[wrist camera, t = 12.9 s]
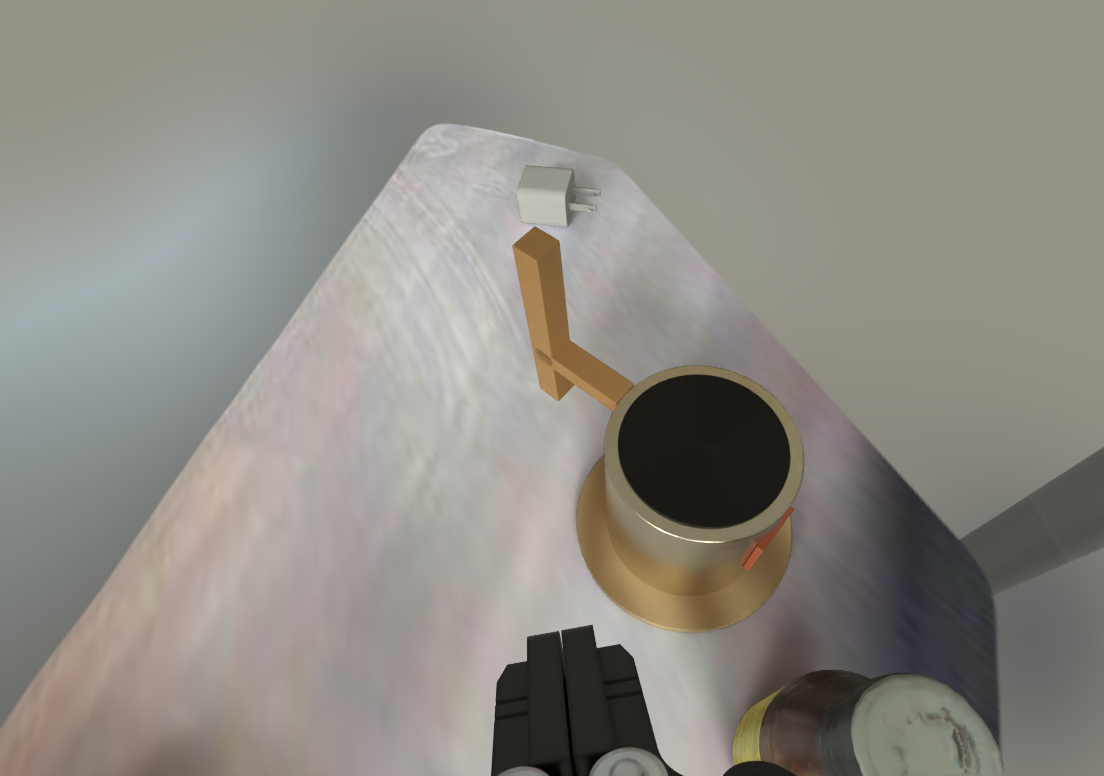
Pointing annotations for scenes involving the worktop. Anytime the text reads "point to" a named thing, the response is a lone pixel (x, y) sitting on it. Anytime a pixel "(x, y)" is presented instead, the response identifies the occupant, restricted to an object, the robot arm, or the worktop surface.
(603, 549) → the turntable
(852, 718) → the sauce bottle
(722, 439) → the flanged cylinder with handle
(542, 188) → the usb wall charger
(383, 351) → the worktop surface
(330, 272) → the worktop surface
